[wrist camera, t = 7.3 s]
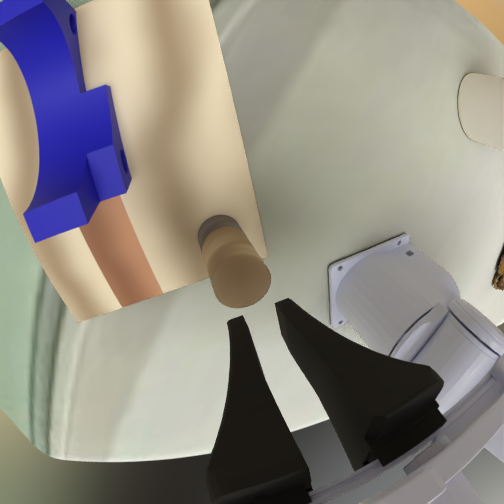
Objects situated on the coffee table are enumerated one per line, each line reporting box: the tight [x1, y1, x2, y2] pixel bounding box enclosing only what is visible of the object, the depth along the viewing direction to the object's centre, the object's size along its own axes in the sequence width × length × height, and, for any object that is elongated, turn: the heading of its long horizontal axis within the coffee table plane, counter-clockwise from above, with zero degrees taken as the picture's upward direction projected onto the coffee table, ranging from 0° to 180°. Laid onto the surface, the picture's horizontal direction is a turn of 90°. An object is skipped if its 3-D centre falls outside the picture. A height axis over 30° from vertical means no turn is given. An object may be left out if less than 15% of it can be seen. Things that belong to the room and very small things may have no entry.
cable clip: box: [0, 0, 132, 243], centre depth 10 cm, size 12×4×6 cm, turn 8°
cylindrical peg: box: [198, 215, 271, 308], centre depth 17 cm, size 3×3×6 cm
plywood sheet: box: [0, 0, 268, 322], centre depth 15 cm, size 16×21×1 cm
